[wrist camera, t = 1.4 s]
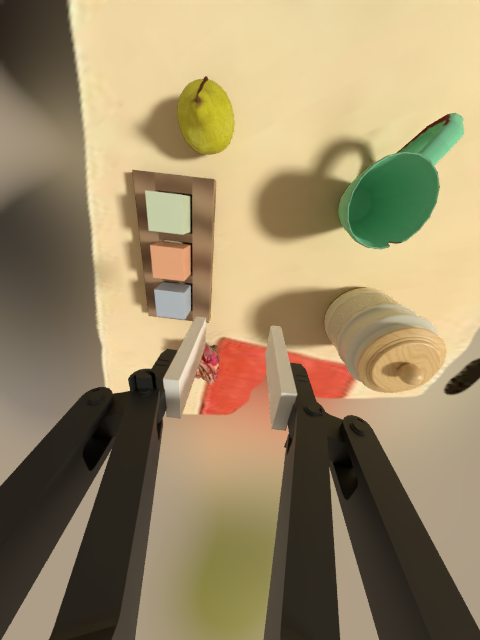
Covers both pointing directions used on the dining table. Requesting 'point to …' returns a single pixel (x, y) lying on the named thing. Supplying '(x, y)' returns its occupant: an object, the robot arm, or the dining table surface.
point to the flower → (208, 365)
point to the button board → (180, 235)
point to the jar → (383, 341)
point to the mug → (399, 188)
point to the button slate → (173, 300)
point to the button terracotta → (170, 261)
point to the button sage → (168, 212)
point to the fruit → (205, 116)
